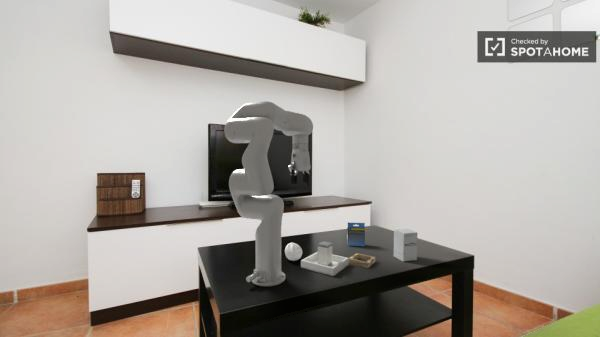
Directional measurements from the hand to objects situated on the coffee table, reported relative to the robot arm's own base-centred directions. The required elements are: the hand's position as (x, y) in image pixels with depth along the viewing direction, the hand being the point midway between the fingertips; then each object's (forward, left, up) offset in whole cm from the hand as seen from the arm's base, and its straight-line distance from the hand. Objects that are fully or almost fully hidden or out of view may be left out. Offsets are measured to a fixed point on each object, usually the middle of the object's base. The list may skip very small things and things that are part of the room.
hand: (300, 183), depth 131 cm
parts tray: (-9, -19, -33) cm, 39 cm away
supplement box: (+20, -44, -34) cm, 59 cm away
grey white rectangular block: (-9, -19, -33) cm, 39 cm away
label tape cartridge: (+25, -18, -34) cm, 46 cm away
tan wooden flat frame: (+4, -30, -33) cm, 45 cm away
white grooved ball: (-11, -4, -34) cm, 35 cm away
